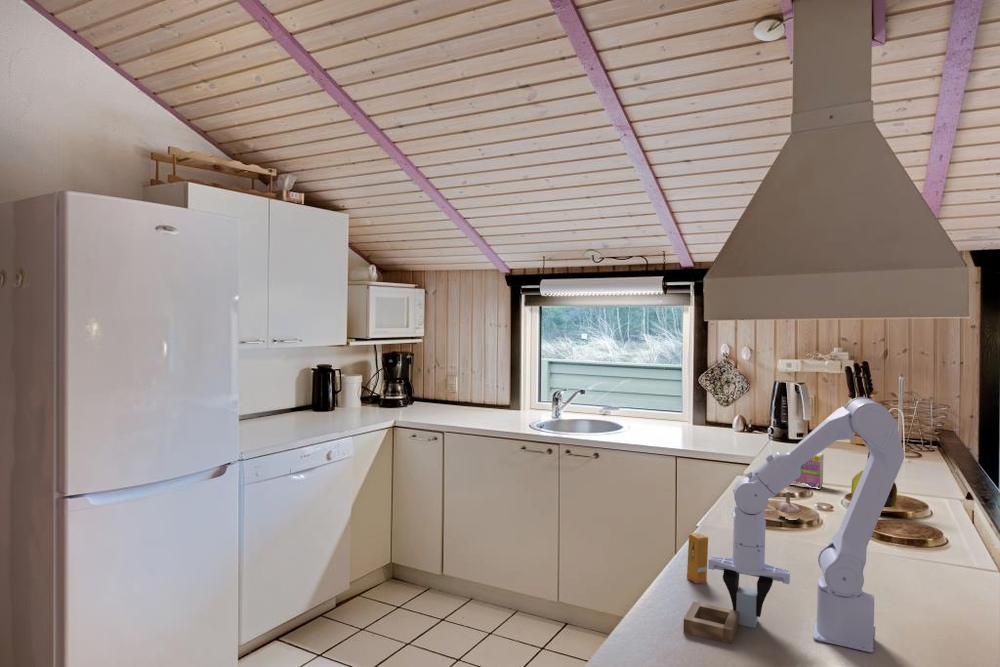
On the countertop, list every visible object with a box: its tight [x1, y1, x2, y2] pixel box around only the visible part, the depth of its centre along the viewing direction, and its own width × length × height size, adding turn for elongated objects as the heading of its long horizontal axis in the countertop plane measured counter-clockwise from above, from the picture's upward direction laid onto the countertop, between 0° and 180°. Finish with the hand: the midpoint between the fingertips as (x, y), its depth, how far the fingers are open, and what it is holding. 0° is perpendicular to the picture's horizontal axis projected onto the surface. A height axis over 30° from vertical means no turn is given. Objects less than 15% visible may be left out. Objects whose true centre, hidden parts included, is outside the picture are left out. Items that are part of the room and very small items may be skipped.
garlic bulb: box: [774, 491, 802, 513], centre depth 189 cm, size 8×7×8 cm
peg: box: [736, 585, 759, 629], centre depth 125 cm, size 4×4×6 cm
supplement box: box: [686, 533, 709, 584], centre depth 144 cm, size 3×3×10 cm
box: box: [795, 452, 824, 489], centre depth 226 cm, size 10×6×12 cm, turn 55°
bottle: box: [850, 452, 898, 507], centre depth 197 cm, size 12×6×20 cm, turn 50°
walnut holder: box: [682, 601, 739, 644], centre depth 122 cm, size 8×8×2 cm
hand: (747, 612), depth 125 cm, fingers closed on peg, 3 cm apart
